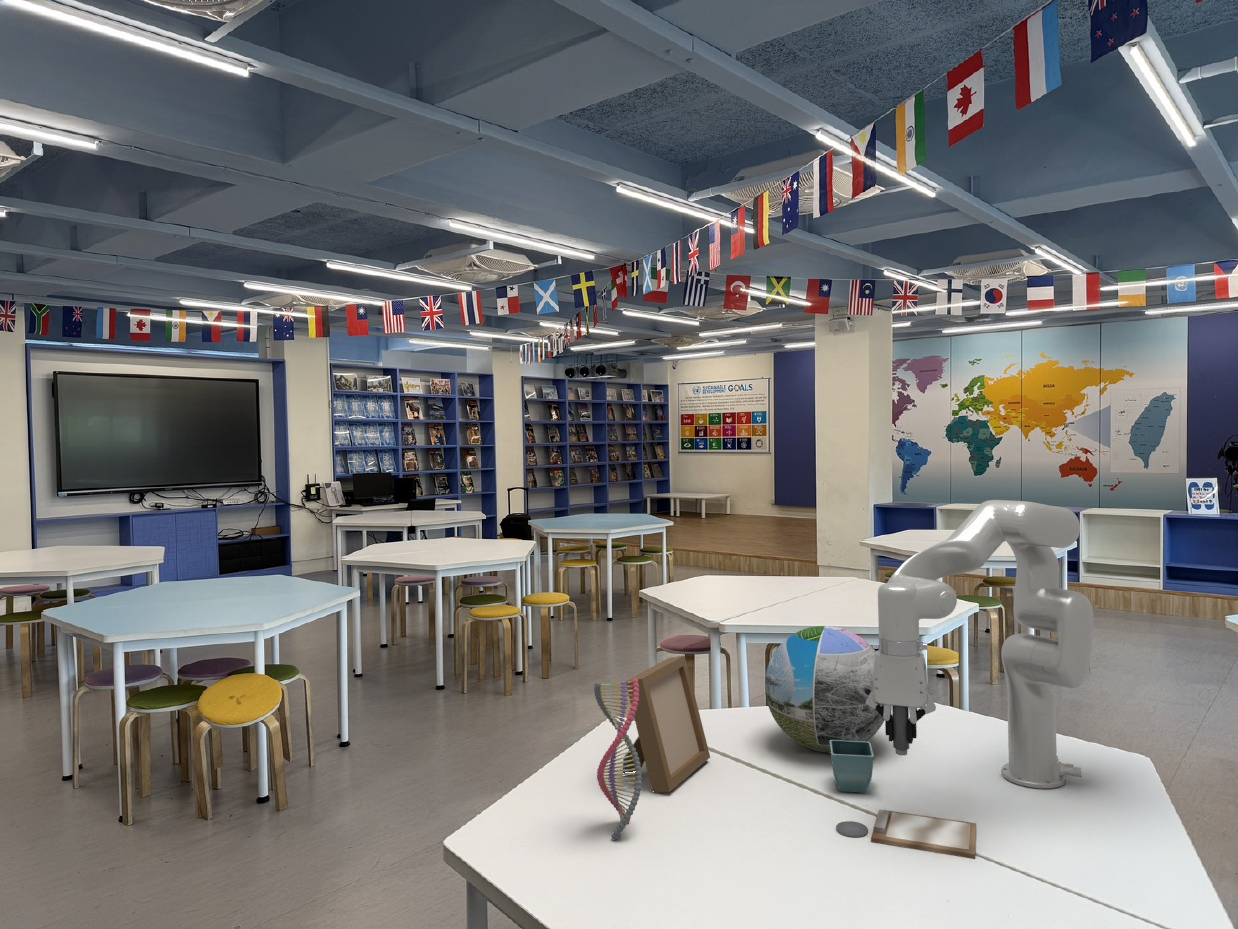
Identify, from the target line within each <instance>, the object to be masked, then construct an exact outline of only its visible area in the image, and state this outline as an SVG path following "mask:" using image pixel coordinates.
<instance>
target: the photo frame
mask: <svg viewBox="0 0 1238 929" xmlns="http://www.w3.org/2000/svg"><path fill="white" fill-rule="evenodd" d="M634 678H637V679H638V684H639V688H638V689H639V697H638V698H639V701H638V706H637V711H636V712H635V716H634V719H633V720H634V722H635V726H636V730H637V734H638V736H637V738H636V739H635V741H634V742H633V744H634V748H636V752H637V753H638V757H639V762H640V764H641V765H640V767H641V770H642V768H643V766H644V764H645V767H646V771H647V775H648V778H649V783H650V788H651V792H652V791H654V792H657V793H658V794H659V793H669V792H671V791H672V790H674V789H675V788H676V787H677V786H678V785H680V784H681V783H682V782H683V781H685V779H687V778H688V777H690V776H691V774H692V773H694V772H695V771H696V770H697V769H699V768H700V767H701V766H702V765H703V764H704V763H706V762H707V761H708V760H709V759H710V758H711V756H710V751H709V748H708V742H707V739H706V734H705V730H704V726H703V723H702V719H701V716H700V715H701V714H700V710H699V706H698V703H697V699H696V696H695V690H694V688H693V684H692V679H691V676H690V672H689V667H688V663H687V660H686V656H685V654H684V655H679V656H671V657H667V658H666V659H664V660H662V661H661V662H658V663H657V664H655V665H653V666H652V667H649V668H648V669H644V671H642V672H640V673H638V674H636V675H634V676H633V677H630V678H629V679H627V680H626V681H627V682H628V681H632V679H634ZM625 685H627V686H632V685H633V684H632V683H627V684H625ZM626 689H627V690H633V687H629V688H626ZM627 694H633V691H631V692H627ZM628 697H629V698H628V699H632V698H633V696H628ZM629 701H630V702H629V703H632V702H633V701H631V700H629ZM630 755H631V753H627V754H624V756H623V757H626V756H630ZM632 759H633V758H632V757H627V758H624V759H622V760H623V761H627V760H632ZM623 761H622V762H623ZM629 764H634V762H633V761H630V762H627V763H622V766H625V765H629ZM634 768H635V766H628V767H622V770H624V769H634ZM633 771H635V770H631V771H622V774H623V773H625V772H633Z"/></svg>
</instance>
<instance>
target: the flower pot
mask: <svg viewBox="0 0 1238 929" xmlns="http://www.w3.org/2000/svg"><path fill="white" fill-rule="evenodd" d="M830 750H831V753H830V756H831V757H830V758H831V762H832V763H831V765H832V772H833V778H834V781H835V783H836V786H837V788H838V789H839V791H840V792H842V793H843V792H845V793H846V792H848V793H866V791H867V790H868V788H869V786H870V784H871V781H872V776H873V769H874V757H875V755H874V751H873V747H872V744H871V742H870V741H867V742H866V741H844V740H830Z"/></svg>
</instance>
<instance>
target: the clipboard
mask: <svg viewBox="0 0 1238 929" xmlns="http://www.w3.org/2000/svg"><path fill="white" fill-rule="evenodd" d="M875 817H876V818H875V821H874V824H873V830H872V833H871V836H870V842H871V843H877V844H881V845H882V844H883V845H888V846H896V847H900V848H901V847H902V848H907V849H914V850H920V851H927V852H932V853H940V854H945V855H951V856H957V857H964V858H969V859H976V847H977V846H976V843H977V842H976V841H977V823H976V822H971V821H970V822H969V821H961V820H957V819H950V818H949V819H948V818H944V817H943V818H942V817H937V816H936V817H935V816H929V815H922V814H915V813H909V812H903V811H902V812H901V811H894V810H888V809H881V808H879V809H878V811H877V815H876V816H875Z"/></svg>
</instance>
